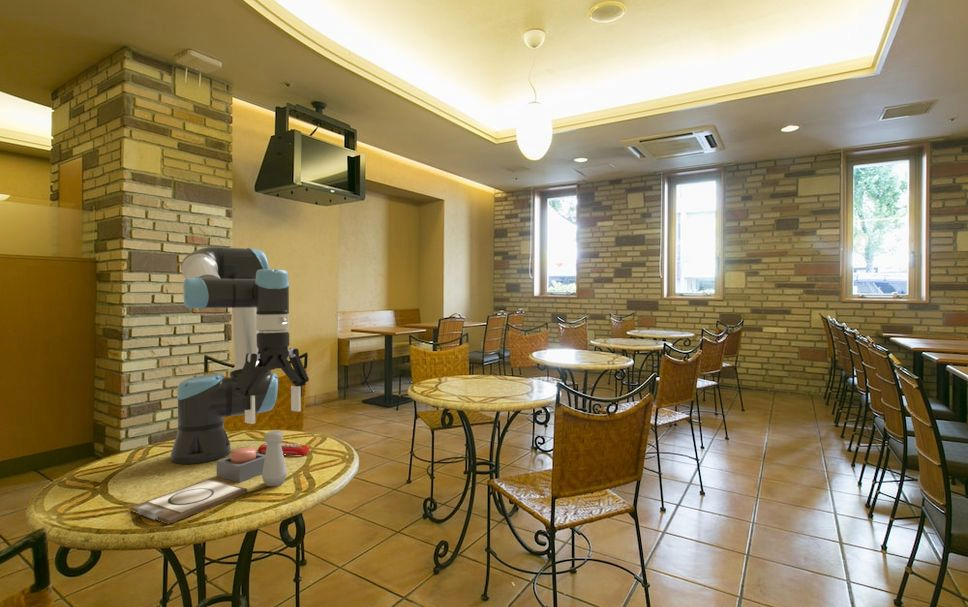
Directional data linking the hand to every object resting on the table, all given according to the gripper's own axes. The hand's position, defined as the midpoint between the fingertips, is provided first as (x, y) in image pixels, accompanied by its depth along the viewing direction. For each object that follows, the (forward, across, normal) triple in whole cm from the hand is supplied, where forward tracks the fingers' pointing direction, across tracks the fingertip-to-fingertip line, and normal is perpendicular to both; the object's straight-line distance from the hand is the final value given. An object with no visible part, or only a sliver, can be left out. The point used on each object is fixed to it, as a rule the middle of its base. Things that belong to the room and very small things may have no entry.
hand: (274, 416), depth 120 cm
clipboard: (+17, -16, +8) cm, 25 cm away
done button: (+14, +1, +13) cm, 19 cm away
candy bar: (+17, +17, +18) cm, 30 cm away
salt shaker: (+17, 0, 0) cm, 17 cm away
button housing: (+17, +1, +13) cm, 21 cm away
